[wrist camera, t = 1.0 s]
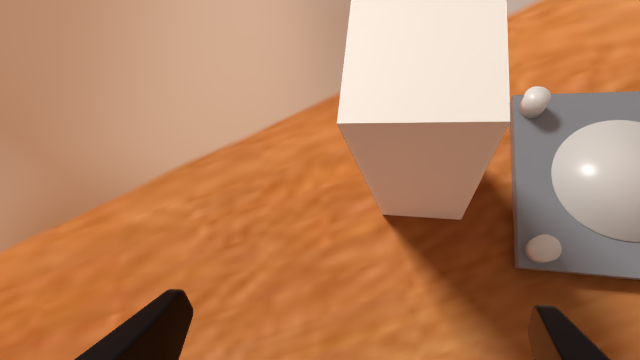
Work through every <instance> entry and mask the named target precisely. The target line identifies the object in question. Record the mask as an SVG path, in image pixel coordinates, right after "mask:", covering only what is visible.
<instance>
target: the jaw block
mask: <svg viewBox="0 0 640 360" xmlns="http://www.w3.org/2000/svg"><path fill="white" fill-rule="evenodd" d="M346 42H347V43H346V50H345V59H344V67H343V76H342V84H341V93H340V101H339V110H338V118H337V125H338V127H339V129H340V131H341V133H342V135H343V137H344V139H345V141H346V143H347V145H348V147H349V149H350V151H351V153H352V155H353V157H354V159H355V161H356V163H357V165H358V167H359V169H360V171H361V173H362V175H363V177H364V179H365V181H366V183H367V185H368V187H369V189H370V191H371V193H372V195H373V197H374V199H375V201H376V203H377V205H378V207H379V209H380V211H381V213H382V215H394V216H409V217H425V218H441V219H456V220H461V219H462V217H463V215H464V213H465V211H466V209H467V207H468V205H469V203H470V201H471V199H472V197H473V195H474V193H475V191H476V189H477V187H478V185H479V183H480V181H481V179H482V177H483V175H484V173H485V171H486V169H487V167H488V165H489V163H490V161H491V159H492V157H493V155H494V153H495V151H496V149H497V147H498V145H499V143H500V141H501V139H502V137H503V135H504V133H505V131H506V129H507V127H508V125H509V123H510V96H509V65H508V33H507V3H506V0H351V8H350V16H349V25H348V33H347V41H346Z"/></svg>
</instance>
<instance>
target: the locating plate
mask: <svg viewBox="0 0 640 360" xmlns="http://www.w3.org/2000/svg"><path fill="white" fill-rule="evenodd" d="M510 131H511V163H512V194H513V226H514V257H515V268H519V269H529V270H540V271H550V272H560V273H571V274H581V275H591V276H602V277H612V278H622V279H633V280H640V92H608V93H575V94H551V93H550V92H549V90H547V89H546V88H544V87H540V86H536V87H532V88H530V89H528V90H527V92H526V93H525V95H513V96H512V99H511V101H510Z"/></svg>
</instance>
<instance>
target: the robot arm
mask: <svg viewBox="0 0 640 360" xmlns="http://www.w3.org/2000/svg"><path fill="white" fill-rule="evenodd" d="M192 317H193V307H192V305H191V303H190V301H189V299H188V297H187V296H186V294H185V292H184V291H183V290H180V289H169V290H167V291H165V292H164V293H163V294H161V295H160V296H159V297H157V298H156V299H155V300H153V301H152V302H151V303H149V304H148V305H147V306H145V307H144V308H143V309H141V310H140V311H139V312H137V313H136V314H135V315H133V316H132V317H131V318H129V319H128V320H127V321H125V322H124V323H123V324H121V325H120V326H119V327H117V328H116V329H115V330H113V331H112V332H111V333H109V334H108V335H107V336H105V337H104V338H103V339H101V340H100V341H99V342H97V343H96V344H95V345H93V346H92V347H91V348H89V349H88V350H87V351H85V352H84V353H83V354H81V355H80V356H79V357H77V358H76V359H75V360H179V357H180V354H181V351H182V348H183V345H184V342H185V339H186V335H187V332H188V329H189V326H190V323H191V320H192ZM528 332H529V340H530V344H531V348H532V353H533V357H534V360H610V359H609V358H608V357H607V356H606V355H605V354H604V353H603V352H602V351H601V350H600V349H599V348H598V347H597V346H596V345H595V344H594V343H593V342H592V341H591V340H590V339H589V338H588V337H587V336H586V335H585V334H584V333H583V332H582V331H580V330H579V329H578V328H577V327H576V326H575V325H574V324H573V323H572V322H571V321H570V320H569V319H568V318H567V317H566V316H565V315H564V314H563V313H562V312H561V311H560V310H559V309H558V308H556V307H554V306H548V305H536V306H534V308H533V310H532V315H531V319H530V324H529V329H528Z"/></svg>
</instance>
